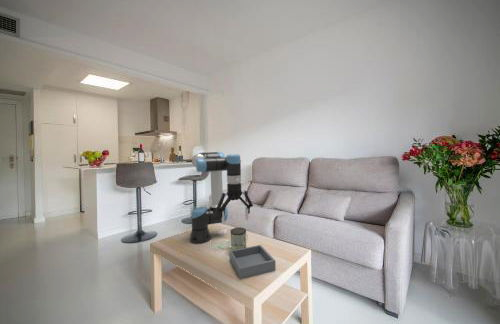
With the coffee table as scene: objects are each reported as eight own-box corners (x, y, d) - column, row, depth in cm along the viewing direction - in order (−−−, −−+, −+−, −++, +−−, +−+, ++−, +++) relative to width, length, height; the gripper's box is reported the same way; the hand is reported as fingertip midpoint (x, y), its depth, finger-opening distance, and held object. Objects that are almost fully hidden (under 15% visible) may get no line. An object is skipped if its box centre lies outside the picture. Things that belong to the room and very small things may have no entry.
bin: (229, 259, 128) (229, 250, 128) (260, 253, 135) (260, 244, 135) (240, 279, 109) (239, 268, 109) (275, 270, 116) (275, 260, 116)
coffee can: (229, 249, 142) (228, 228, 140) (244, 246, 145) (243, 226, 144) (233, 256, 132) (232, 234, 131) (248, 253, 135) (248, 232, 134)
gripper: (212, 186, 106) (213, 227, 108) (258, 182, 115) (258, 220, 116) (209, 183, 113) (211, 222, 115) (253, 180, 122) (253, 216, 123)
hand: (235, 221), depth 116 cm, fingers open, 13 cm apart
